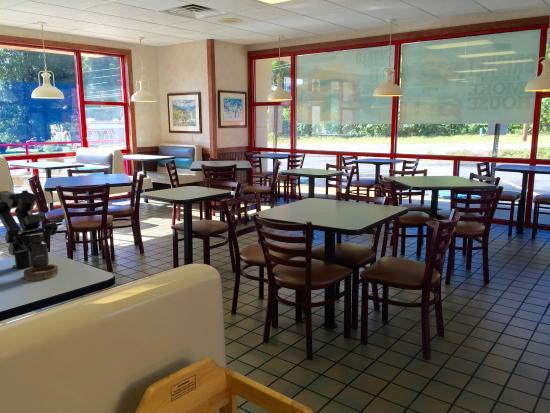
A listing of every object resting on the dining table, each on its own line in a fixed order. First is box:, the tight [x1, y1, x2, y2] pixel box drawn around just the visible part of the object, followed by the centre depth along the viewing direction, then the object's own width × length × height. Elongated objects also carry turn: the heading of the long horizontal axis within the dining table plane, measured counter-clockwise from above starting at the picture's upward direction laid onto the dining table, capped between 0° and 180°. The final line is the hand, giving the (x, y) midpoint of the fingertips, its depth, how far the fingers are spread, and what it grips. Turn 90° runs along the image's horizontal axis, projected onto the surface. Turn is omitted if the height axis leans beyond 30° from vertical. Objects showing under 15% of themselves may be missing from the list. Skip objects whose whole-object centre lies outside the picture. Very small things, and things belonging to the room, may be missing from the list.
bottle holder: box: [22, 264, 59, 282], centre depth 187 cm, size 12×12×3 cm
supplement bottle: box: [29, 233, 50, 267], centre depth 186 cm, size 7×7×12 cm
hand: (39, 249), depth 185 cm, fingers closed on supplement bottle, 7 cm apart
